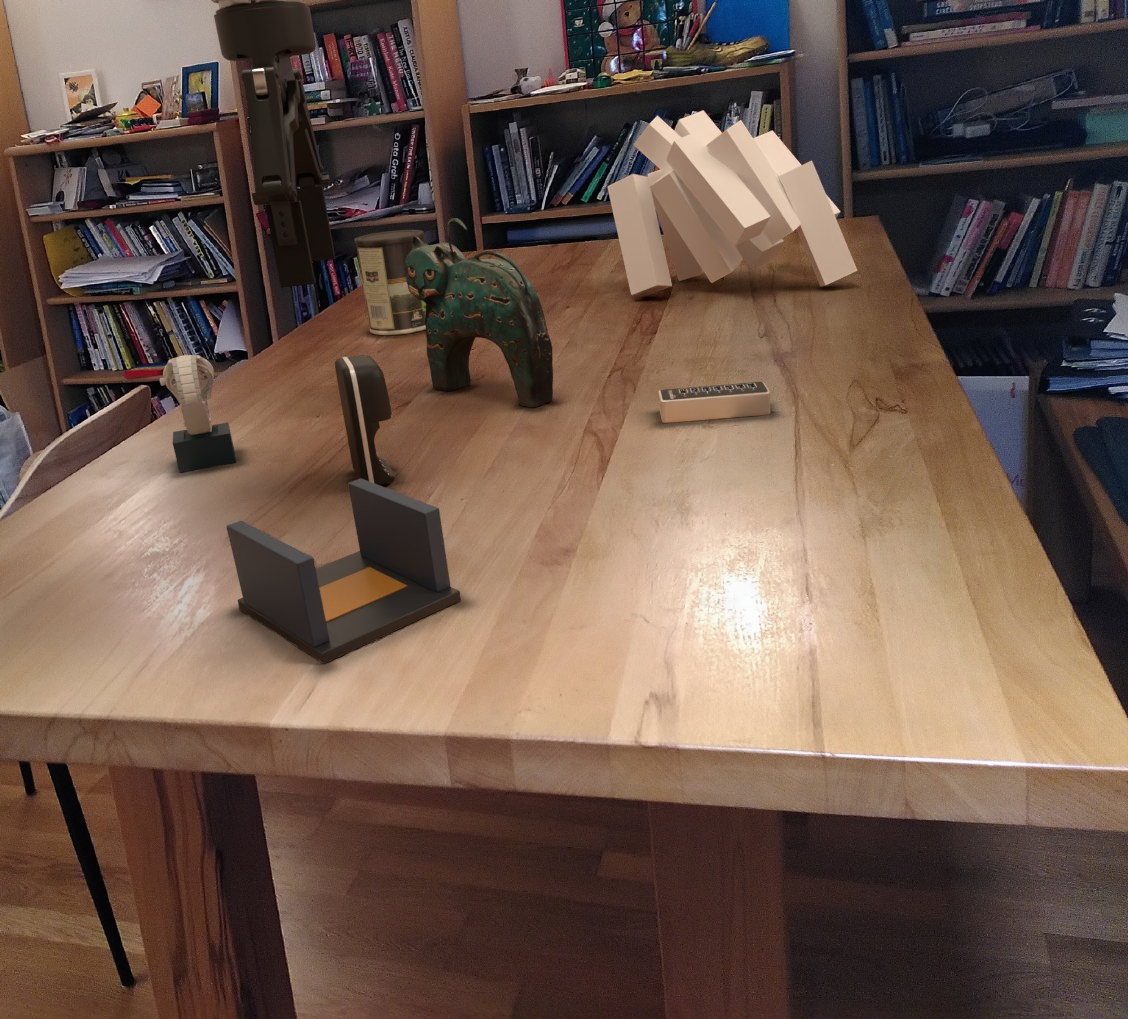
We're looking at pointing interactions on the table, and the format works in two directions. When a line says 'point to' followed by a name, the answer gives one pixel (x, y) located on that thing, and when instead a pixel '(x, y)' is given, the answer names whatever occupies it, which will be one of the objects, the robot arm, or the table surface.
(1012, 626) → the table surface
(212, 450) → the watch
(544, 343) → the ceramic cat
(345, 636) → the cradle
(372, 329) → the coffee can
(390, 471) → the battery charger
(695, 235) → the pile of blocks
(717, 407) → the multiport hub
